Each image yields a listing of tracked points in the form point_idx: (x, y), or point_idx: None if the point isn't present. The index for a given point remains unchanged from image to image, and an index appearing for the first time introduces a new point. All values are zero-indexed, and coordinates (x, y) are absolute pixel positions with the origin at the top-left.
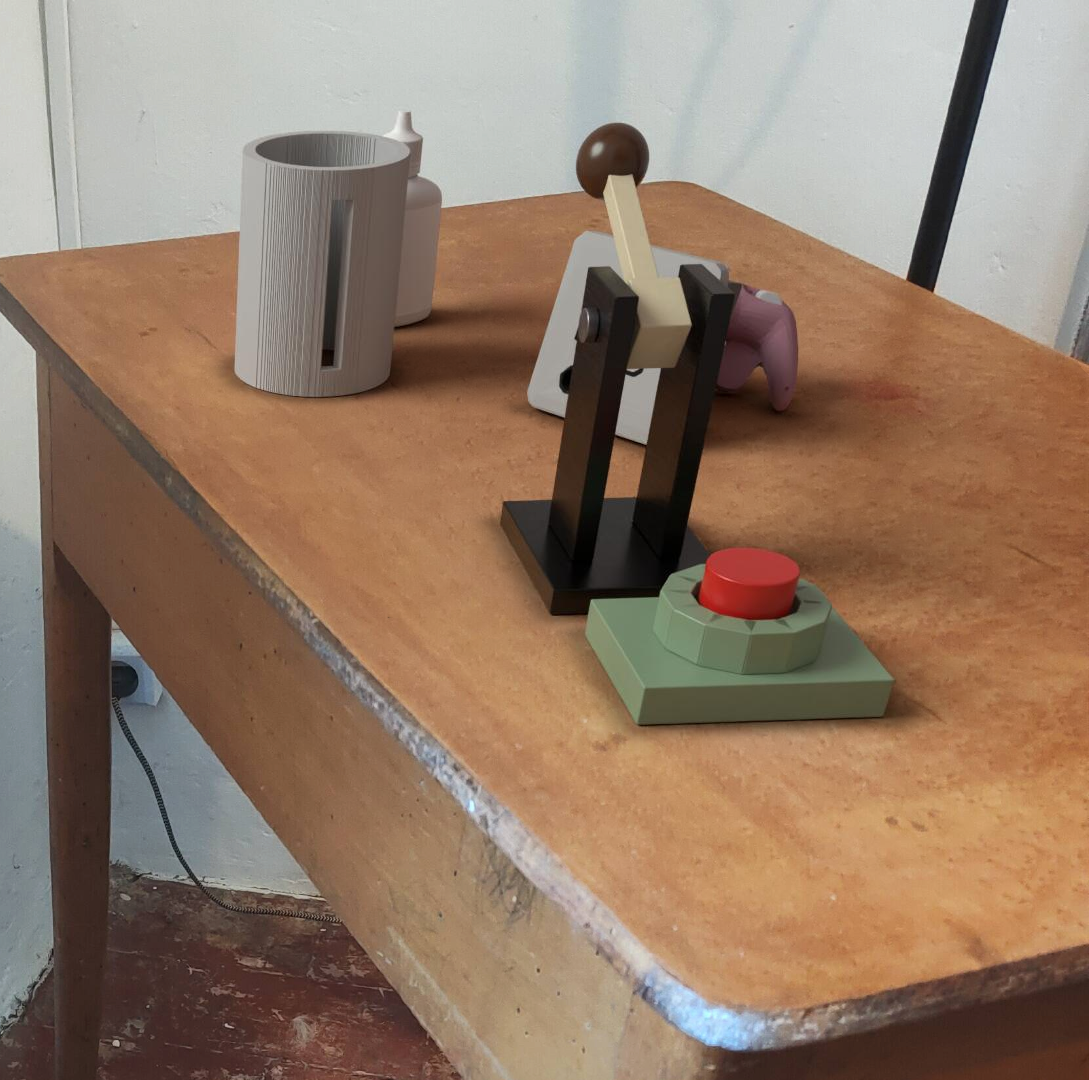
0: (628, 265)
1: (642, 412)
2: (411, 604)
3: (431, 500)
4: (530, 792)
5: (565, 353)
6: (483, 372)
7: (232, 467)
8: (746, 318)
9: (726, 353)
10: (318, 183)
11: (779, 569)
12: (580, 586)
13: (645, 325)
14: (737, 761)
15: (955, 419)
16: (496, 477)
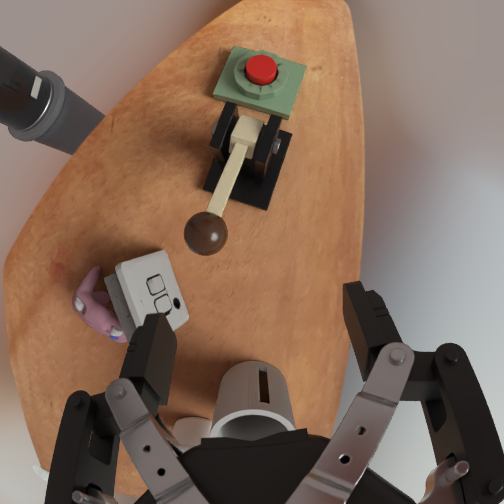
0: (241, 163)
1: (164, 263)
2: (331, 163)
3: (279, 243)
4: (349, 60)
5: (174, 313)
6: (184, 360)
7: (336, 305)
8: (92, 299)
9: (101, 302)
10: (277, 410)
11: (255, 61)
12: (282, 132)
13: (262, 121)
14: (288, 49)
15: (53, 236)
16: (241, 254)
